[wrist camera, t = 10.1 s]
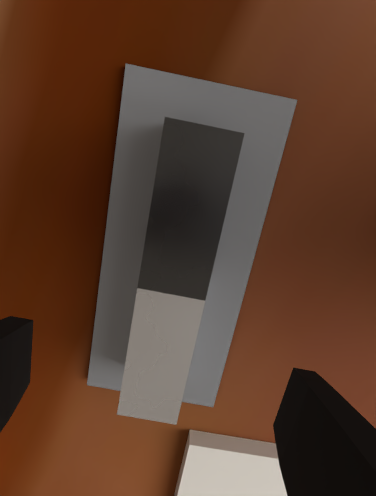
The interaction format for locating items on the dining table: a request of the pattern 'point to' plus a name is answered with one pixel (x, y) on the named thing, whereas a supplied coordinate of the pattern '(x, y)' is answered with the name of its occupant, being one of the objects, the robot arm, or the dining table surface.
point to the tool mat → (138, 207)
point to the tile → (229, 467)
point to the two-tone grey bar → (177, 264)
